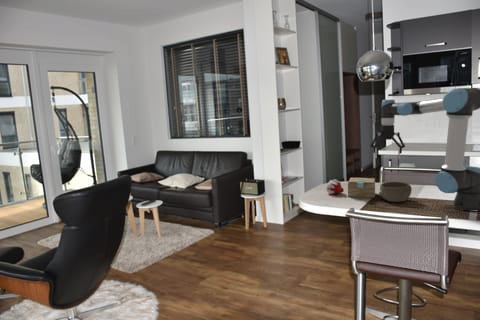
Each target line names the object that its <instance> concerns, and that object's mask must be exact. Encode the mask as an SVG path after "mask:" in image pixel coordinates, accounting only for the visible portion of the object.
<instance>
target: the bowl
mask: <svg viewBox="0 0 480 320" xmlns="http://www.w3.org/2000/svg"><path fill="white" fill-rule="evenodd" d="M412 189H413V188H412V187H411V185H410V183H408V182H402V181H401V182H400V181H389V182H387V181H386V182H382V183H380V187H379V192H378V194H379V196H380V197H382V198H383V200H385V201H386V202H390V203H402V202H405V201H407V200H408V199H409V198H410V196H411V195H412Z"/></svg>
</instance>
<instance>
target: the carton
mask: <svg viewBox="0 0 480 320" xmlns="http://www.w3.org/2000/svg"><path fill="white" fill-rule="evenodd" d="M375 196H376V179H375V180H374V184H364V188H363V189H358V188H357V183H349V181H348V182H347V198H363V199H365V198H367V199H369V198H370V199H375Z"/></svg>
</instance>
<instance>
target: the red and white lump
mask: <svg viewBox="0 0 480 320" xmlns="http://www.w3.org/2000/svg"><path fill="white" fill-rule="evenodd" d="M326 192H327V193H328V194H330V195H338V194H340V193H341V194H342V193H343V192H344V188H343V187H342V183H341V181H339V180H338V179H335V178H334V179H331V180H329V181H328V182H327V184H326Z"/></svg>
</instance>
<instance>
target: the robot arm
mask: <svg viewBox="0 0 480 320" xmlns="http://www.w3.org/2000/svg"><path fill="white" fill-rule="evenodd" d="M477 110H480V88H478V87H459V88H458V87H457V88H453V89H450V90H448V91H447V92H446V93H445V94H444V96H443V97H439V98H432V99H426V100H421V101H420V100H419V101H411V102H410V101H409V102H396V100H395V99H383V100H382V101H381V129H380V130H381V132H377V131H376V133H375V137H374V139H372V142H371V144H370V148H372V150H373V154H374V159H378V158H377V157H378V156H377V153H378V151H377V150H378V148H377V146H379V145H380V143H381V142H382V141H383V140H389V141H390V140H392V142H394V143H395V144H396V146H397V147H398V148H397V151H398V152H397V153H398V155H397V156H398V157H397V158H398V160H400V159H401V158H400V156H401V154H402V153H403V152H402V149H404V148H405V147H406V145H405V143H404V141H403V139H402V137H401V134H400V132H395V116H402V117H404V116H406V117H407V116H411V115H412V116H413V115H424V114H429V113H437V112H445V111H446V116H447V117H448V127H447V134H446V135H447V136H446V144H445V145H446V146H445V157H444V163H443V164H442V165H441V166H440V171H439V172H438V173H437V174H436V175H435V178H434V183H435V186H436V187H437V189H438V190H439V191H440V192H442V193H444V194H455V193H456V195H455V196H454V199H453V201H452V208H453V207H455V208H458V209H463V210H480V167H478V166H472V165H471V166H470V165H464V161H465V152H466V143H467V133H468V128H469V127H468V124H469V119H470V118H471V117H472V116H473V113H474V111H477ZM379 136H381V138H380V139H379V140H378V141H377V138H378V137H379ZM394 136H396V137H397V138H398V140H399V142H400V143H399V142H398V141H397V139H396V138H395V137H394ZM376 141H377V142H376ZM375 142H376V143H375ZM455 208H454V209H455ZM458 209H457V210H458ZM463 210H462V211H463Z"/></svg>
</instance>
